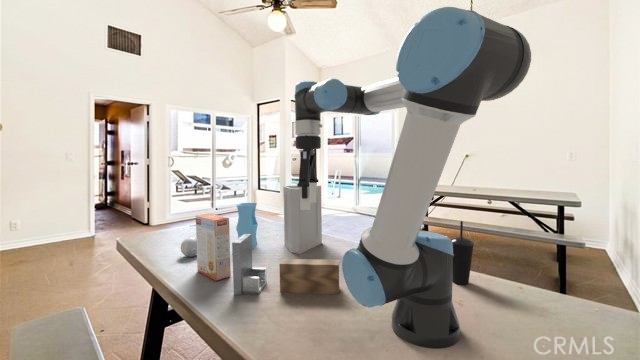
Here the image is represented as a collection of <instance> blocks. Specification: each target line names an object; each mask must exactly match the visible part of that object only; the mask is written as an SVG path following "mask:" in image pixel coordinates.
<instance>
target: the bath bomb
mask: <svg viewBox="0 0 640 360" xmlns="http://www.w3.org/2000/svg"><path fill="white" fill-rule="evenodd" d="M180 252H181V253H182V255H184V257H190V258H191V257H194V256H197V238H196V237H187V238H185V239H184V240H183V241H182V242H181V245H180Z"/></svg>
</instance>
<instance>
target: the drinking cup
mask: <svg viewBox="0 0 640 360" xmlns="http://www.w3.org/2000/svg"><path fill="white" fill-rule="evenodd" d="M459 223H460V226H459V227H460V229H459V231H460V232H459V236H454V237H449V239H451V241H452V243H453V254H454V256H453V281H452V284H453V283H454V284H455V285H459V286H467V285H469V282H470V275H471V269H472V268H471V267H472V259H473V254H474V246H475V245H476V244H475V241H474V240H473V239H470V238H469V237H465V236H463V235H464V234H463V233H464V231H463V229H464V221H462V220H460V222H459Z"/></svg>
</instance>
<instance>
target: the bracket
mask: <svg viewBox="0 0 640 360" xmlns="http://www.w3.org/2000/svg"><path fill="white" fill-rule="evenodd" d="M231 249H232V250H231V251H232V254H231V255H232V278H233V280H232V281H233V283H232V284H233V296H242V295H260V293H261V292H262V290H263V289H264V287H265V286H266V284H267V283H268V282H267V279H268V278H267V267H253V248H252V236H251V234H244V235H242V236H241V237H239V238H238V237H237V239H235V240H233V241H232V242H231Z"/></svg>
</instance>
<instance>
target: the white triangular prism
mask: <svg viewBox="0 0 640 360" xmlns="http://www.w3.org/2000/svg"><path fill="white" fill-rule="evenodd" d="M282 189H283V228H284V229H283V232H284V235H283V236H284V239H283V240H284V246H285V247H286V248H287V249H288V251H289V252H291V253H293V254H299V255H301V254H303V253H305V252H307V251H309V250H311V249H313V248H315V247H318V246H319V245H321V244H323V241H322V240H323V234H322V232H323V229H322V224H323V223H322V219H323V217H322V185H321V184H319V185H318V184H316V203H310V210H300V187H297V185H283V188H282Z"/></svg>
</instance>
